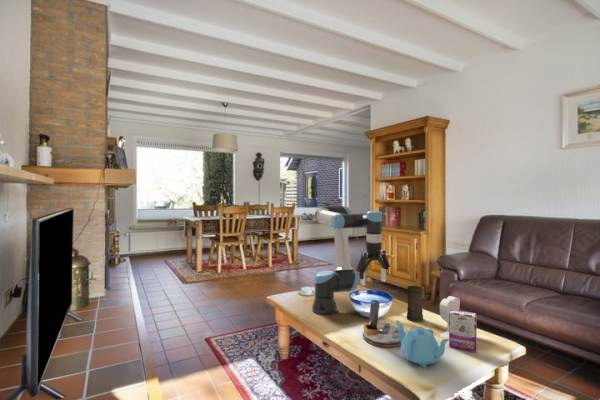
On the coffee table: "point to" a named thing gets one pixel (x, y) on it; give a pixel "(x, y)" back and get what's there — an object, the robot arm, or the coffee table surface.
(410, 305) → the container
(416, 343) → the teapot
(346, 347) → the coffee table surface
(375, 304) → the steel pin
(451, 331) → the candy bar box
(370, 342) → the nut base
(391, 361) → the coffee table surface
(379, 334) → the lugged metal disc
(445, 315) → the heart sculpture
